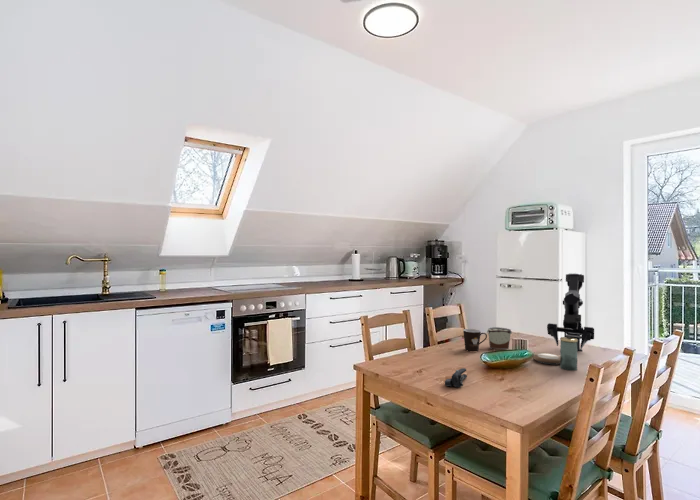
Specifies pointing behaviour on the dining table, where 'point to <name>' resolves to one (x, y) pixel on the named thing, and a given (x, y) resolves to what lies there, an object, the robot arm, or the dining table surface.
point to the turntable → (547, 357)
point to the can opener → (456, 378)
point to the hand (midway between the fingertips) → (569, 346)
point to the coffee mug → (472, 339)
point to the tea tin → (568, 353)
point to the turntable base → (547, 363)
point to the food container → (499, 337)
